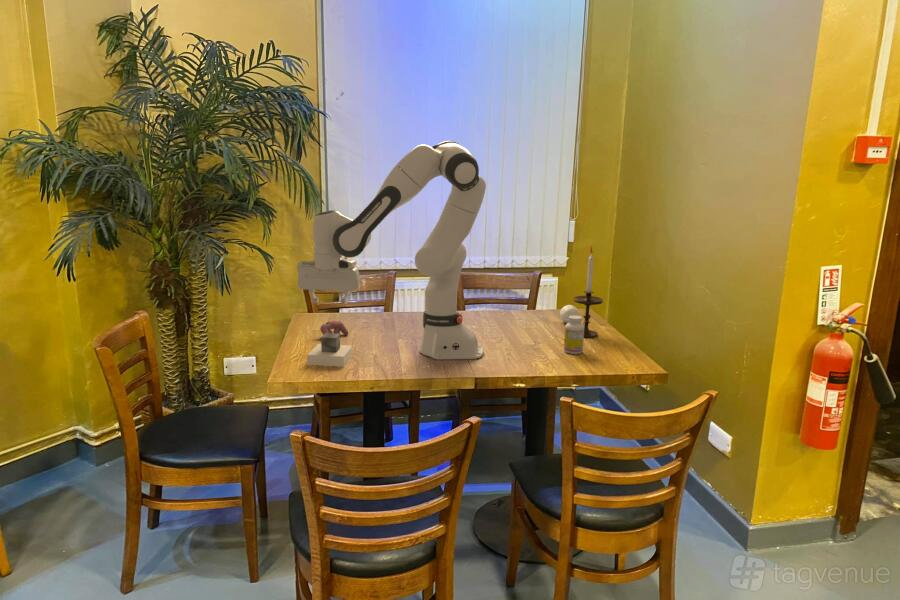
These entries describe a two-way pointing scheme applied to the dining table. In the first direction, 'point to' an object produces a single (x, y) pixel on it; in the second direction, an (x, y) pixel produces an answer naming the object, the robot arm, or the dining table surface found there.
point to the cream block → (330, 356)
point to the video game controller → (336, 326)
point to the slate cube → (330, 342)
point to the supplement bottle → (574, 335)
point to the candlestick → (588, 299)
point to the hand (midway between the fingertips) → (329, 303)
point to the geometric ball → (568, 312)
